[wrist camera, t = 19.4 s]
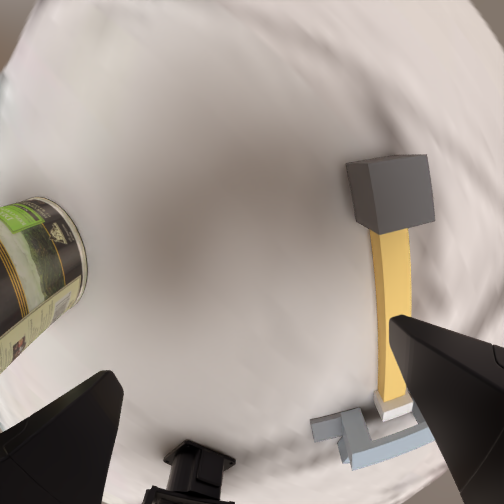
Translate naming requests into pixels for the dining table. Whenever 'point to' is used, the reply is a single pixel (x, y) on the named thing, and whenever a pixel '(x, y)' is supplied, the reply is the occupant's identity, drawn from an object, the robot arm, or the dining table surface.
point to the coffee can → (36, 272)
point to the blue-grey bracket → (359, 441)
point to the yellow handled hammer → (391, 252)
